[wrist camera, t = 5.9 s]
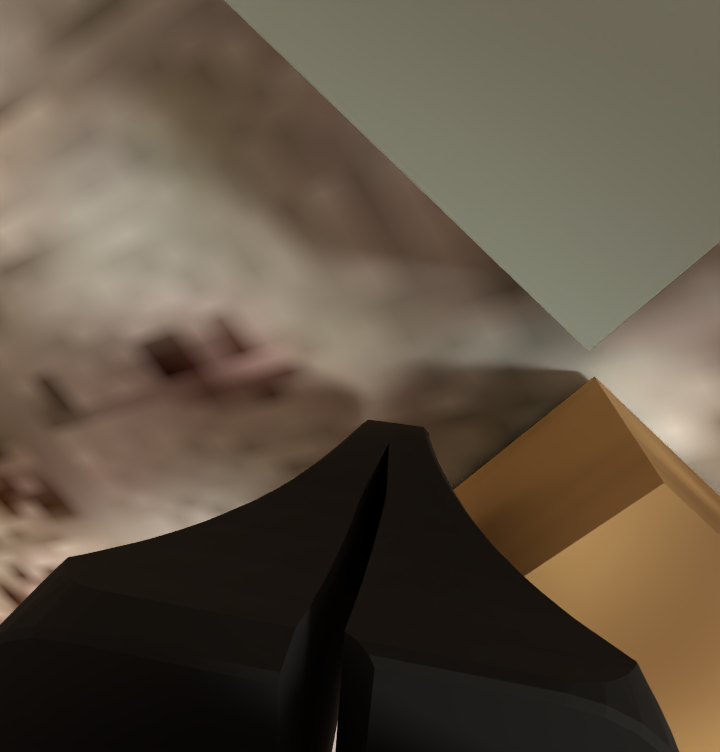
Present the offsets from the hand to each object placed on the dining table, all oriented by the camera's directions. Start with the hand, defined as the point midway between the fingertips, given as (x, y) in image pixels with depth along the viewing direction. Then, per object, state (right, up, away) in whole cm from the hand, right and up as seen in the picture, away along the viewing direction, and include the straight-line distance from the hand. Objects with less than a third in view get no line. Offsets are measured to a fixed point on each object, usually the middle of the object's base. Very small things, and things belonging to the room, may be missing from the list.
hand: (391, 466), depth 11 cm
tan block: (+4, -2, +2) cm, 5 cm away
